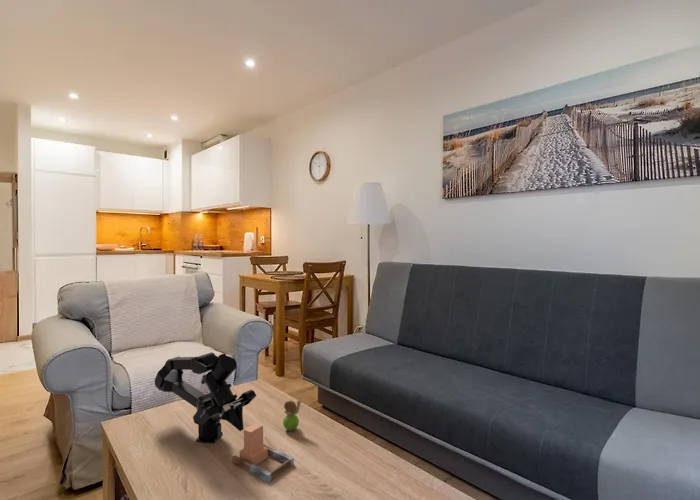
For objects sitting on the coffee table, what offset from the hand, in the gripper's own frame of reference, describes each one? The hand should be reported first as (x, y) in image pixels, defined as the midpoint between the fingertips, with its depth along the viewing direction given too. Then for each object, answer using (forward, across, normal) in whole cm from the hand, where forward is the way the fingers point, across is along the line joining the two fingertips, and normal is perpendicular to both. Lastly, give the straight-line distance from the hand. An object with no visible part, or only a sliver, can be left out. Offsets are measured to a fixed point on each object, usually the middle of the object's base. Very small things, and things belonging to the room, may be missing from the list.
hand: (241, 430), depth 127 cm
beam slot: (+12, 0, +1) cm, 12 cm away
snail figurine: (+8, -20, -3) cm, 22 cm away
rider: (+9, 0, -2) cm, 9 cm away
